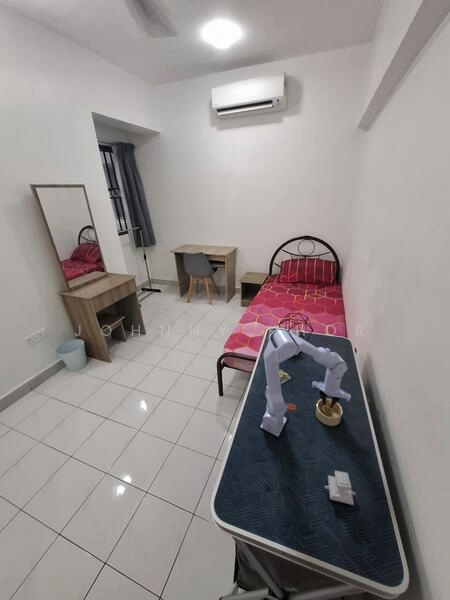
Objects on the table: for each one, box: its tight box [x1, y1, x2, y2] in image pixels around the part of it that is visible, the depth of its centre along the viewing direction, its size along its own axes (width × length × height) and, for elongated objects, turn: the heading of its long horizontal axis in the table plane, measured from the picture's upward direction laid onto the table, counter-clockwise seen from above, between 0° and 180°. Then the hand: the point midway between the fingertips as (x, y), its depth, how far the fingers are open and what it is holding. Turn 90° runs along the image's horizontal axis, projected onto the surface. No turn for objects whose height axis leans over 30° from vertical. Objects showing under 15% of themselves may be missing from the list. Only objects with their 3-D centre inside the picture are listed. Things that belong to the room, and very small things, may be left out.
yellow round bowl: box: [315, 397, 343, 427], centre depth 101 cm, size 10×10×4 cm
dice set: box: [279, 368, 292, 385], centre depth 124 cm, size 5×5×2 cm
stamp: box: [324, 470, 357, 506], centre depth 75 cm, size 9×7×8 cm
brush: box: [321, 401, 333, 416], centre depth 102 cm, size 4×4×6 cm
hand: (327, 405), depth 101 cm, fingers closed on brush, 2 cm apart
